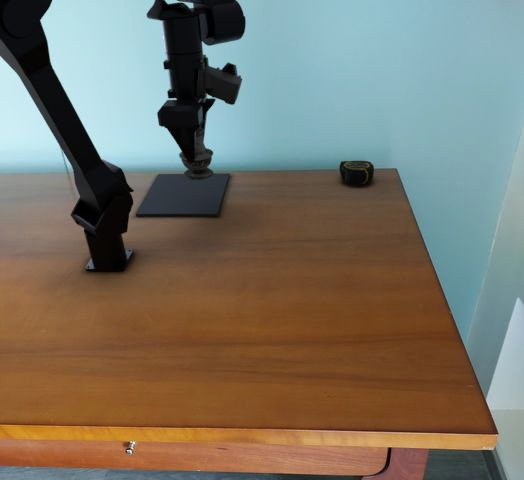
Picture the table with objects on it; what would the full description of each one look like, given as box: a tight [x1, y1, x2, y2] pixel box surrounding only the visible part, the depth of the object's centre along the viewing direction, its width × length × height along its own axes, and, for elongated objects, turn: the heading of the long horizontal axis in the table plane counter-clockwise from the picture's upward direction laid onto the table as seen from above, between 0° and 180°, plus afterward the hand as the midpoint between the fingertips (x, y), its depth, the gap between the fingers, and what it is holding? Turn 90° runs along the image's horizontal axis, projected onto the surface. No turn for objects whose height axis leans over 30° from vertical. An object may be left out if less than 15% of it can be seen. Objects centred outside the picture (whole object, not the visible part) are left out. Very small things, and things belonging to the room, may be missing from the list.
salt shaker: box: [178, 126, 214, 180], centre depth 89 cm, size 6×6×12 cm
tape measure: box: [338, 160, 375, 186], centre depth 110 cm, size 7×7×4 cm
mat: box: [135, 172, 231, 218], centre depth 109 cm, size 20×16×1 cm
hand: (196, 153), depth 90 cm, fingers closed on salt shaker, 7 cm apart
